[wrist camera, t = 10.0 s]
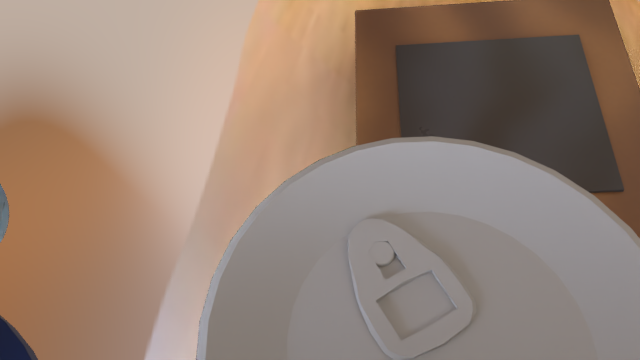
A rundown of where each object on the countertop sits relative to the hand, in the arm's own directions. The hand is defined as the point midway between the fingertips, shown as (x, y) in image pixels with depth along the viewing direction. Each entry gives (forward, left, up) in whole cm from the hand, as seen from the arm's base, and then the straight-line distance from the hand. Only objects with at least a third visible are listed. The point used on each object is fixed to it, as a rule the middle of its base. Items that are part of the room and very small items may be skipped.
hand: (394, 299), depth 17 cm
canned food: (0, -3, -4) cm, 5 cm away
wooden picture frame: (+6, +13, -11) cm, 18 cm away
